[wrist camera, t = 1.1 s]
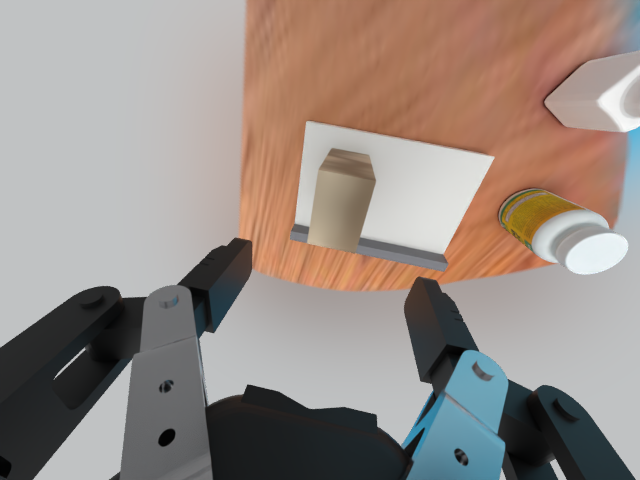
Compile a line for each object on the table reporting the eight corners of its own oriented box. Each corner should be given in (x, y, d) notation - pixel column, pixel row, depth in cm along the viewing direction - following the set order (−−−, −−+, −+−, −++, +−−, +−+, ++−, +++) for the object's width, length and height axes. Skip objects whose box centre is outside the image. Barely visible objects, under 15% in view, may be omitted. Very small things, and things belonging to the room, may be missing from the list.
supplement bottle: (563, 197, 25) (662, 240, 17) (526, 236, 28) (596, 289, 20) (519, 180, 25) (598, 215, 17) (486, 221, 28) (540, 269, 20)
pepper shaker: (563, 129, 22) (681, 142, 14) (537, 102, 22) (647, 99, 14) (611, 89, 21) (780, 77, 12) (585, 58, 20) (745, 23, 12)
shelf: (309, 120, 25) (302, 122, 22) (484, 153, 24) (506, 161, 21) (297, 226, 32) (289, 240, 28) (433, 254, 31) (443, 272, 28)
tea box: (322, 200, 27) (306, 243, 19) (331, 147, 24) (318, 169, 16) (356, 207, 27) (357, 253, 19) (370, 155, 24) (378, 181, 16)
